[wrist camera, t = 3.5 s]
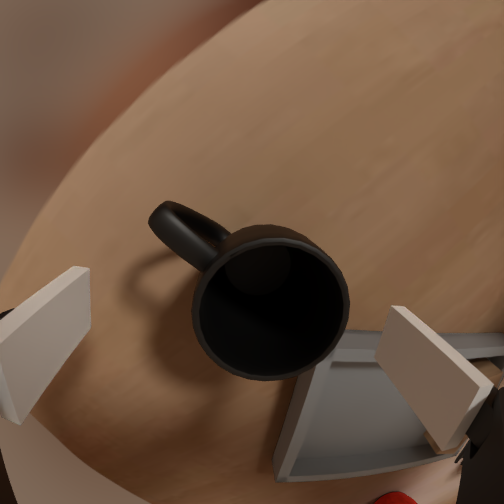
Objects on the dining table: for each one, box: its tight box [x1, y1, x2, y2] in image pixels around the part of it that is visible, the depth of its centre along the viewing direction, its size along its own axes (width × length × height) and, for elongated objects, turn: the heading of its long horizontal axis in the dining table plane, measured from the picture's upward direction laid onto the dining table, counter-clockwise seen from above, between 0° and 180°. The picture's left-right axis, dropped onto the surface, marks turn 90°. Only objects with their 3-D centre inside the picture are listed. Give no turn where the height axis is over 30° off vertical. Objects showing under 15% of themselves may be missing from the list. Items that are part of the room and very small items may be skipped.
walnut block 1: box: [423, 430, 468, 454], centre depth 29 cm, size 4×4×4 cm
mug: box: [148, 201, 350, 381], centre depth 20 cm, size 8×12×10 cm
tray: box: [272, 330, 504, 482], centre depth 29 cm, size 18×26×4 cm
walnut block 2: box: [469, 357, 503, 388], centre depth 27 cm, size 4×4×4 cm
